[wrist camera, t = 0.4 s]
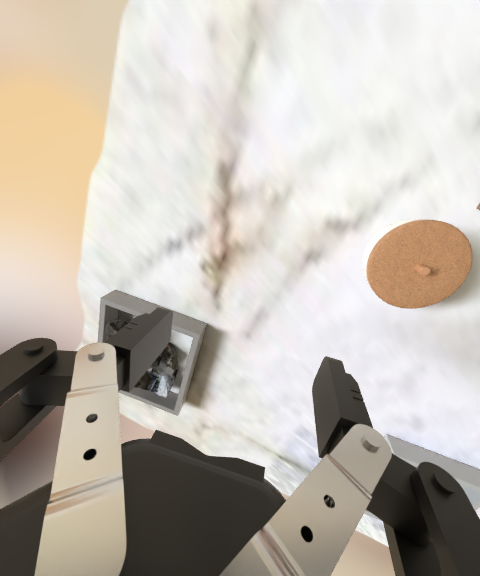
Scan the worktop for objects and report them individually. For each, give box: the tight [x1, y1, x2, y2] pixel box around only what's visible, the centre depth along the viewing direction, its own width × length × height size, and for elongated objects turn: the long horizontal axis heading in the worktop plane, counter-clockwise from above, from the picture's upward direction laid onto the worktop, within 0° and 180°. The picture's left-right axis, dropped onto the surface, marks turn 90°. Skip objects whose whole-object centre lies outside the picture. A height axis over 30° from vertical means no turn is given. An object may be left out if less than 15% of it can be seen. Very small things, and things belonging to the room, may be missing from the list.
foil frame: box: [98, 290, 207, 416], centre depth 49 cm, size 21×19×4 cm
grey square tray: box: [364, 434, 480, 521], centre depth 48 cm, size 18×18×4 cm
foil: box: [105, 320, 178, 398], centre depth 48 cm, size 12×11×15 cm
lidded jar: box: [362, 219, 472, 308], centre depth 31 cm, size 11×11×9 cm
